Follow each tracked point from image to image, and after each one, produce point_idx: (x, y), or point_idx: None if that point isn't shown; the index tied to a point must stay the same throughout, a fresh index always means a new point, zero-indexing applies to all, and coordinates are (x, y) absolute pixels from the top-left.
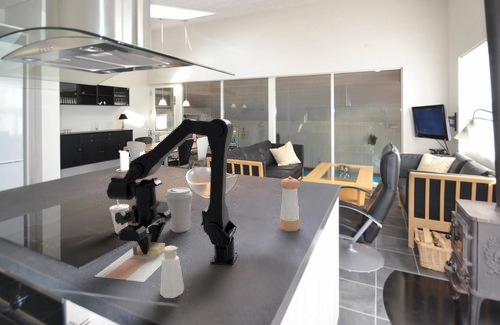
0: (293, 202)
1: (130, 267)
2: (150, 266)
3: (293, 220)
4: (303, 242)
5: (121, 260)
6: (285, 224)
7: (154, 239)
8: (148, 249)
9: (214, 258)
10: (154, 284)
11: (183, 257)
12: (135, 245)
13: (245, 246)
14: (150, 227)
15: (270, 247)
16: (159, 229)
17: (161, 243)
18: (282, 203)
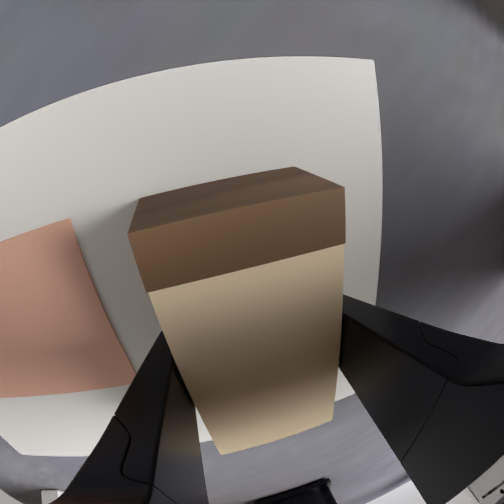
0: (468, 497)
1: (4, 351)
2: (98, 428)
3: None
4: (384, 493)
5: (8, 186)
6: None
7: (359, 372)
8: (192, 402)
9: (279, 501)
10: (49, 470)
11: (268, 452)
12: (183, 232)
13: (372, 474)
14: (478, 434)
15: (365, 491)
16: (417, 480)
17: (321, 412)
18: None
